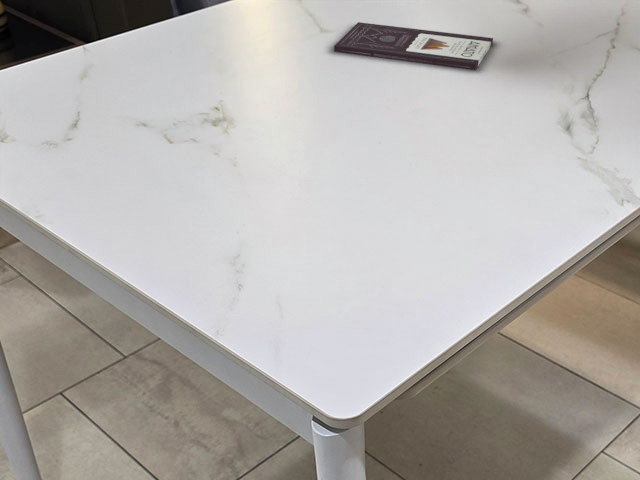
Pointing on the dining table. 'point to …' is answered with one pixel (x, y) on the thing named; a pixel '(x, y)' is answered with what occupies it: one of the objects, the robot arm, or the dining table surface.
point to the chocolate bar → (415, 45)
